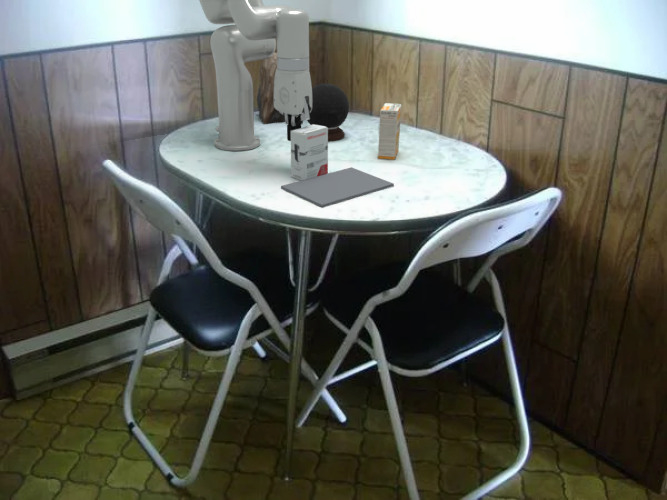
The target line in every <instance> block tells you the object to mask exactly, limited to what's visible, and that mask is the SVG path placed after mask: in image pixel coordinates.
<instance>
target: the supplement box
mask: <svg viewBox="0 0 667 500" xmlns="http://www.w3.org/2000/svg"><path fill="white" fill-rule="evenodd" d="M379 111H380V113H379V130H378V131H379V132H378V148H377V149H378V152H377V158H378V159H381V160H395V159H396V156H397V154H398V152H399V146H400V132H401V117H402V104H401V103H389V102H388V103H386V102H385V103H384V104H383V105H382V107H381V108H380V110H379Z"/></svg>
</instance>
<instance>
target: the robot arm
mask: <svg viewBox="0 0 667 500" xmlns="http://www.w3.org/2000/svg"><path fill="white" fill-rule="evenodd" d="M198 1H199V3H200V7H201V9H202V11H203V13H204V15H205V18H206V20H207V21H209V23H211V24H212V25H223V26H220V27H218V28H217V29H215V30H214V31H213V33H212V34H211V37H210V42H209V43H210V49H211V54H212V58H213V62H214V69H215V70H214V71H215V78H216V93H217V109H218V110H217V111H218V126H215V131H216V132H218V137H217V138H215V139H214V140H213V143H214V147H216V148H217V149H220V150H224V151H232V152H234V151H235V152H237V151H249V150H252V149H255V148H259V146H260V145H261V139H260V138H259V137H258V136H255V115H254V114H255V111H254V108H255V107H254V86H253V85H254V83H253V78H252V77H253V76H252V75H251V72H250V71H249V70H248V68H247V67H246V65H245V63H248V62H249V63H250V62H256V61H262V60H264V59H267V58H270V57H271V56H272V55H273V54H274V53H277V69H276V72H275V79H274V108H275V109H276V110H278V111H279V112H280V113H281V114H282V115H284V117H285V122H284V123H285V124H286V132H287V133H286V140H287V141H289V142H291V131H292V130H296V129H299V128H302V125H304V121H307V120H309V119H310V117H309V113H311V111H312V88H313V87H312V79H311V74H310V73H311V72H310V25H309V24H310V23H309V22H310V21H309V19H310V17H309V13H308V12H307V10H306V9H303V8H293V7H291V6H288V5H285V4H276V5H274V4H273V5H264V3H263V0H198Z"/></svg>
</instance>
